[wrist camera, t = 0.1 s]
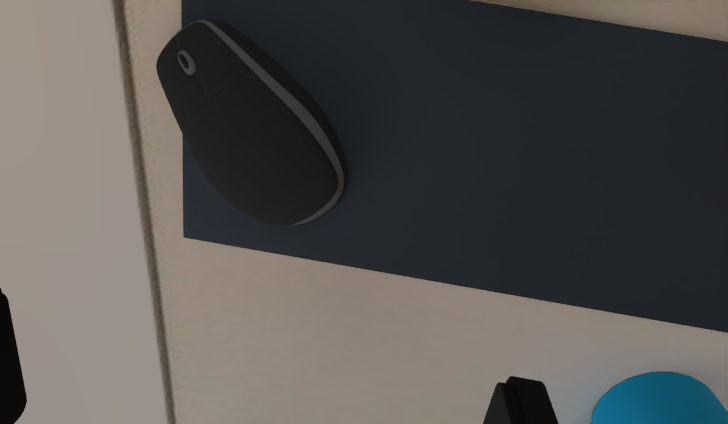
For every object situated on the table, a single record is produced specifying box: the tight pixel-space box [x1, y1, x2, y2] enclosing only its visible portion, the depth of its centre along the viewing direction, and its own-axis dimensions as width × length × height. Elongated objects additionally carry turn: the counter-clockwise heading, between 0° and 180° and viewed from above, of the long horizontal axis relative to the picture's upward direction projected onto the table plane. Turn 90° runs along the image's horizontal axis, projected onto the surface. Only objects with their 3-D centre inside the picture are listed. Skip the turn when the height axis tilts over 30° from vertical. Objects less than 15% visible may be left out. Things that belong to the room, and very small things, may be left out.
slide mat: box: [182, 0, 728, 333], centre depth 27 cm, size 16×36×1 cm, turn 82°
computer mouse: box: [156, 19, 348, 227], centre depth 25 cm, size 7×12×4 cm, turn 38°
